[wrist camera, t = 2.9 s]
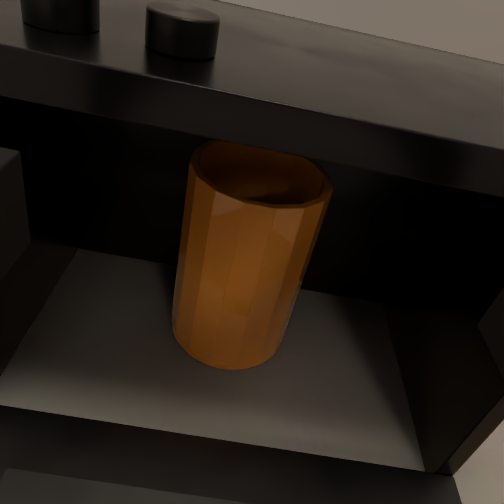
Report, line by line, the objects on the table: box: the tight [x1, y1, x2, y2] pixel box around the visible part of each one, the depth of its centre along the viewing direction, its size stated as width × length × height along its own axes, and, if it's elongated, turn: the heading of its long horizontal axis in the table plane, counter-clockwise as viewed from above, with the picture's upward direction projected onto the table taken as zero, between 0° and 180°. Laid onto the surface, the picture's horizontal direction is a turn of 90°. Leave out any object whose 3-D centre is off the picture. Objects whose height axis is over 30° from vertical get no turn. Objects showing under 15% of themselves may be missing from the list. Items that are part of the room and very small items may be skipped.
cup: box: [172, 140, 333, 370], centre depth 28 cm, size 8×8×12 cm
